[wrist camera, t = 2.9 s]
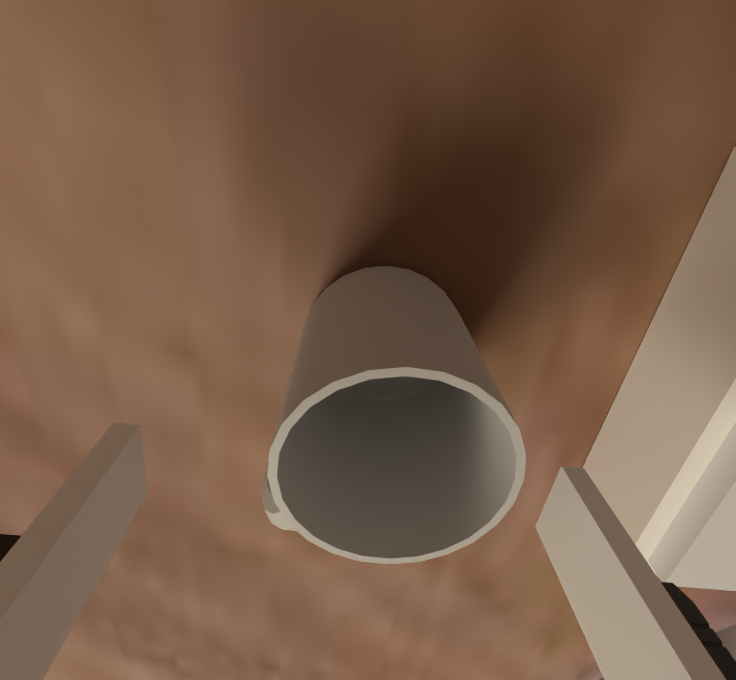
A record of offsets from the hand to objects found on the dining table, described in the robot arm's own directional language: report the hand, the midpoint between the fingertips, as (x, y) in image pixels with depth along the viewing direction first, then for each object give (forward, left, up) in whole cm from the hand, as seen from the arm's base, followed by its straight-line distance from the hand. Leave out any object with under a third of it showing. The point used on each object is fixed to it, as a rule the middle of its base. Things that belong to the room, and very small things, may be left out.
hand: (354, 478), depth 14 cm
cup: (0, 0, -8) cm, 8 cm away
